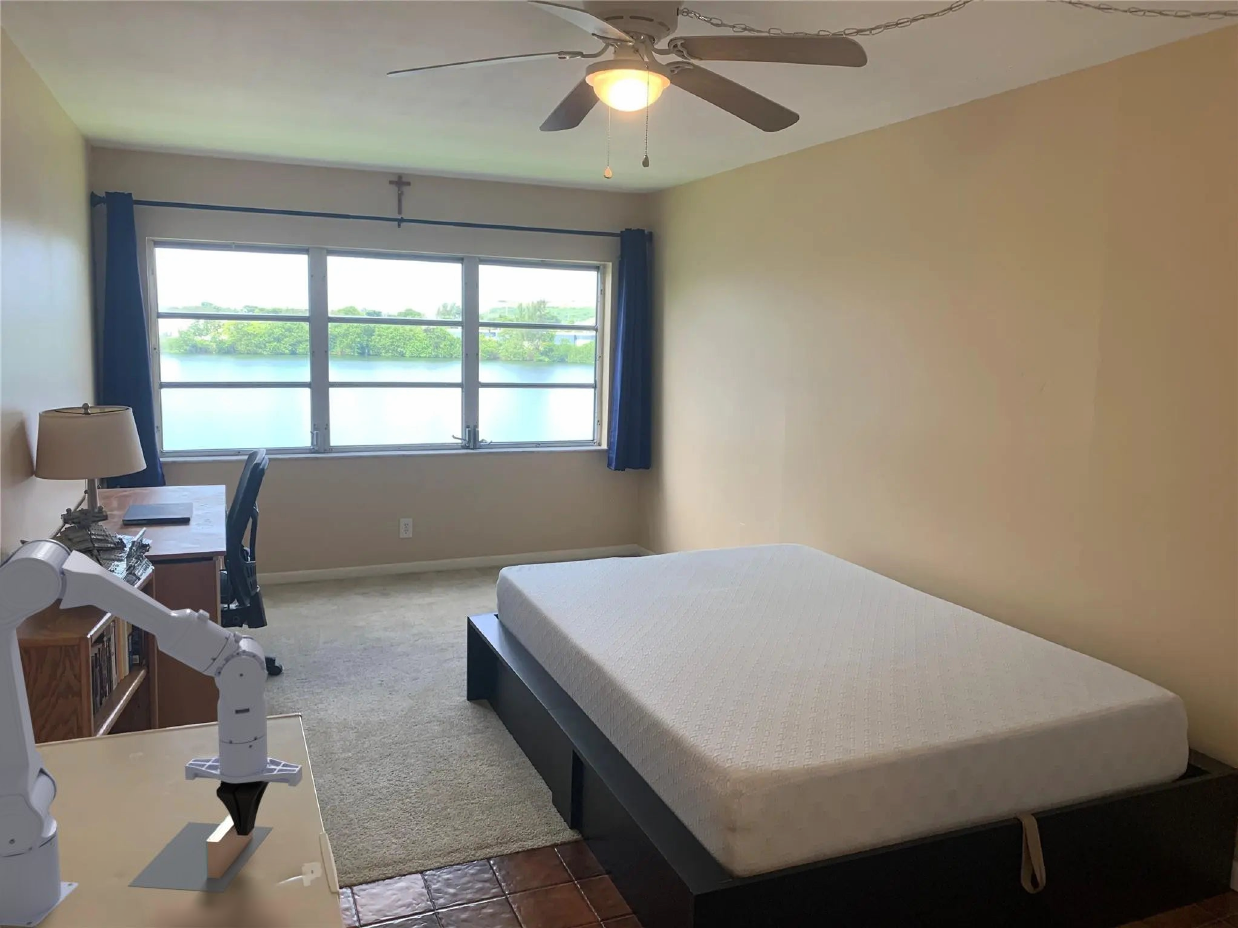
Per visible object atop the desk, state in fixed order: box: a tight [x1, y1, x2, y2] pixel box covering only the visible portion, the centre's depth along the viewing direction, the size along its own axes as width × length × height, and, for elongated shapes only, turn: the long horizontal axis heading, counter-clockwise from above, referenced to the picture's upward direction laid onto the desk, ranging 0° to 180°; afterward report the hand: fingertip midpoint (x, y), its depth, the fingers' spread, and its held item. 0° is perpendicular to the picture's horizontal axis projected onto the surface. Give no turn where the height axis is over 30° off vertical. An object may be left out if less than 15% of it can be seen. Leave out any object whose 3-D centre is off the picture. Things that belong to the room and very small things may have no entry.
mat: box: [127, 821, 274, 893], centre depth 113 cm, size 12×14×1 cm
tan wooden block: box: [206, 814, 253, 878], centre depth 113 cm, size 2×9×5 cm, turn 178°
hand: (245, 831), depth 112 cm, fingers closed
